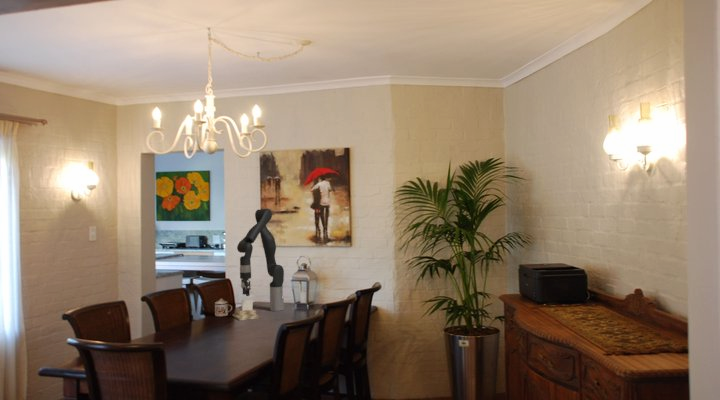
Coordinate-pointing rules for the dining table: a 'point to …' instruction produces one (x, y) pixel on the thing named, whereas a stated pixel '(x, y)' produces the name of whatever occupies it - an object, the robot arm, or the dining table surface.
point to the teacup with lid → (221, 308)
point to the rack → (245, 314)
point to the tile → (247, 305)
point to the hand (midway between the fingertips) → (246, 295)
